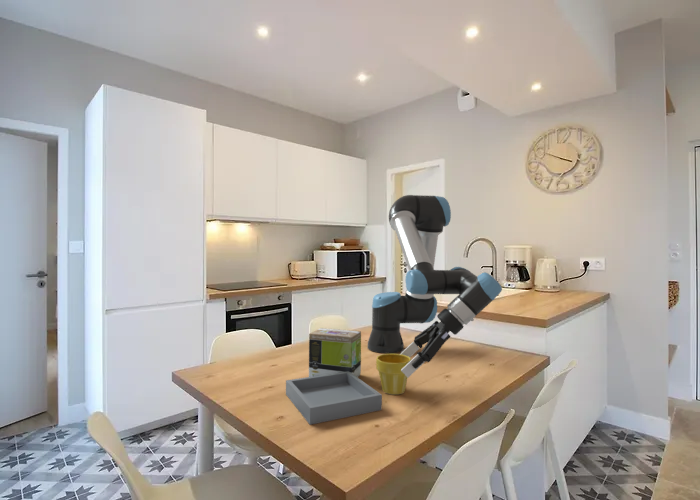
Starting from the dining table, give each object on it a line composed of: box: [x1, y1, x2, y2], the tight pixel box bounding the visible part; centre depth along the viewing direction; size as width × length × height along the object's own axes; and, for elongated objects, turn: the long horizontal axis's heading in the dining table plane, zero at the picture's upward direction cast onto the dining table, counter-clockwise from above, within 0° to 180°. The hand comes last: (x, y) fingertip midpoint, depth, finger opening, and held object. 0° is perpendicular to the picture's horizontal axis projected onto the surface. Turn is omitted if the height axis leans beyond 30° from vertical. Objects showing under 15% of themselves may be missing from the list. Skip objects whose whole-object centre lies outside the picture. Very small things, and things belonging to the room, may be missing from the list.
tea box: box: [308, 327, 362, 378], centre depth 123 cm, size 15×10×15 cm
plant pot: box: [375, 353, 412, 396], centre depth 112 cm, size 10×10×10 cm
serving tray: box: [285, 371, 383, 426], centre depth 103 cm, size 20×20×4 cm
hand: (402, 366), depth 111 cm, fingers open, 13 cm apart
